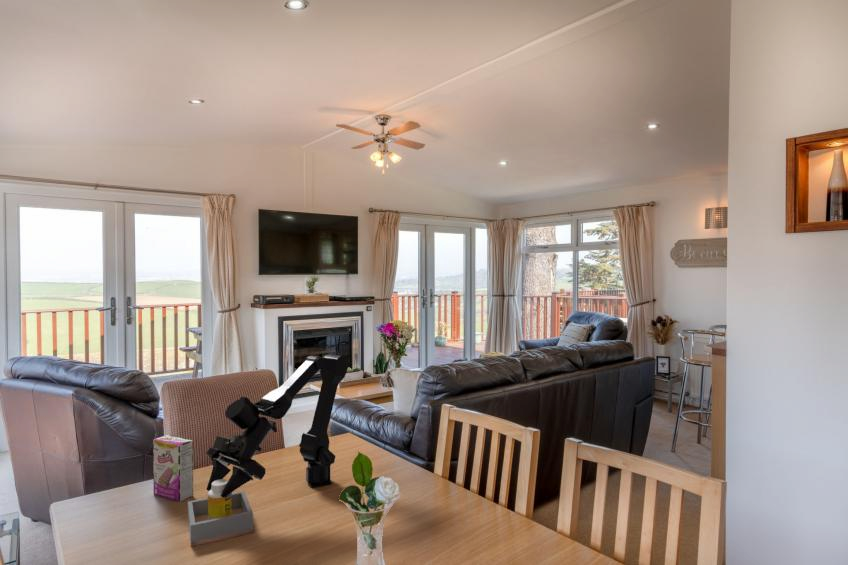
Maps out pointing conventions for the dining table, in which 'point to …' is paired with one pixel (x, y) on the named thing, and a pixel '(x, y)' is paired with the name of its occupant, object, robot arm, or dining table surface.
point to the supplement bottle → (219, 501)
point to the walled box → (219, 520)
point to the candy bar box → (173, 467)
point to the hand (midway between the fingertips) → (214, 493)
